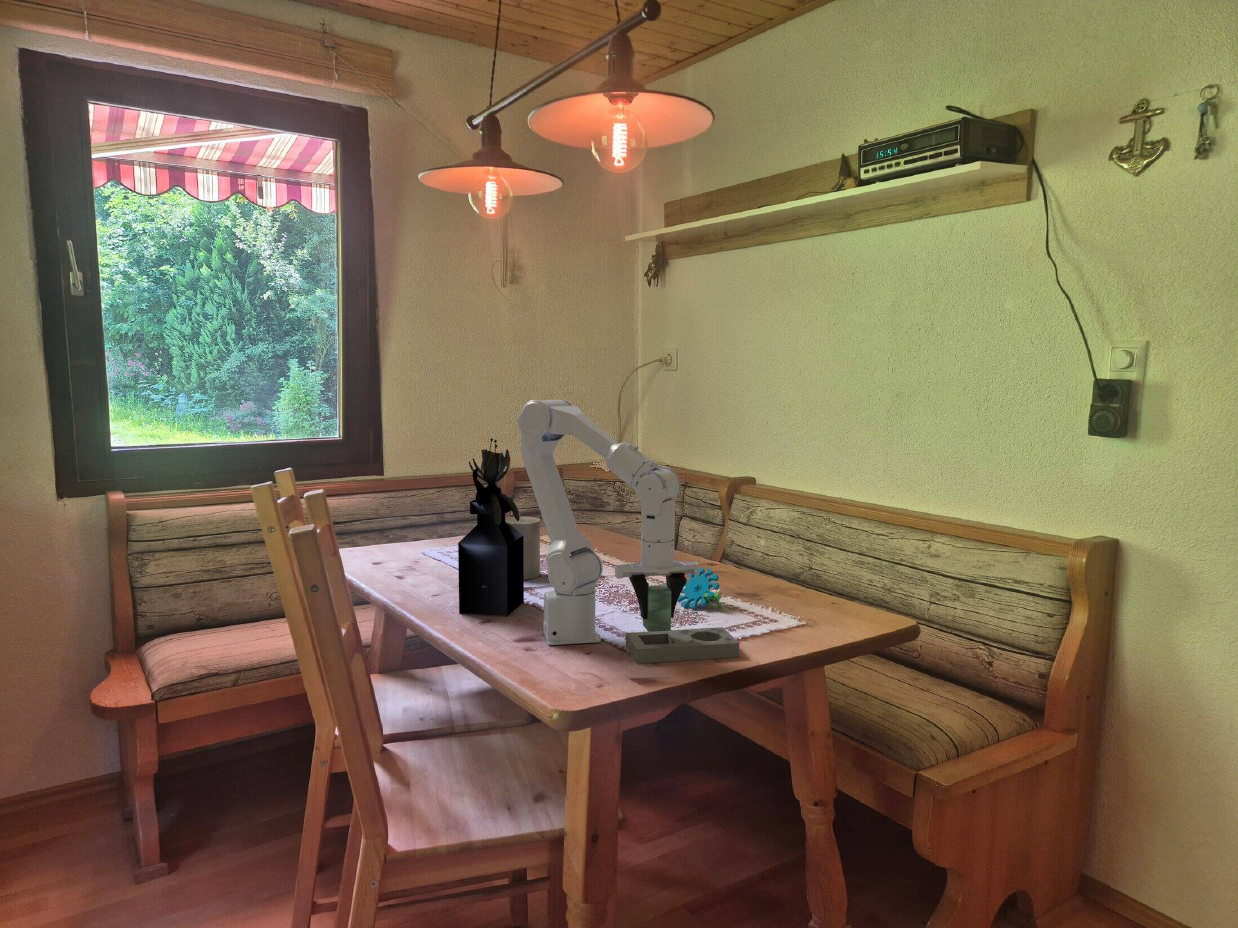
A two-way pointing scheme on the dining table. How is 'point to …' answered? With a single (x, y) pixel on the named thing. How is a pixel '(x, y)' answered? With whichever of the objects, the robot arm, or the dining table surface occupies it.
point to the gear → (700, 590)
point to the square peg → (658, 609)
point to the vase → (491, 546)
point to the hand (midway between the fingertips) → (656, 616)
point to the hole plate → (681, 645)
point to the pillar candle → (529, 543)
